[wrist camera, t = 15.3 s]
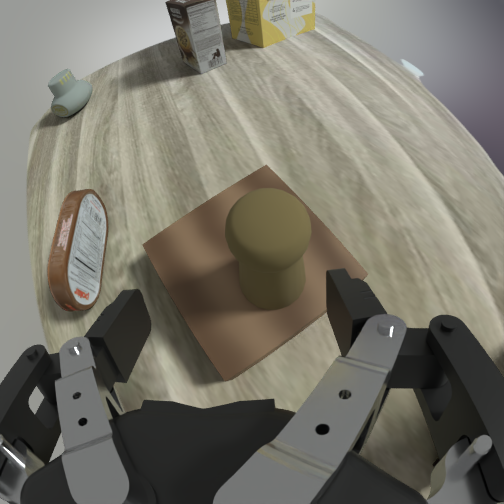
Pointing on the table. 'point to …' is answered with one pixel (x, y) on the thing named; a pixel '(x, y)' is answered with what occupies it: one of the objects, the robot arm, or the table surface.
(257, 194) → the cork
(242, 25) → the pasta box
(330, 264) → the walnut base block
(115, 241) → the table surface
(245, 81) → the table surface
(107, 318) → the robot arm
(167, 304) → the table surface
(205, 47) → the brown snack box
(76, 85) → the air freshener
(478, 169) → the table surface
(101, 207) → the tin
